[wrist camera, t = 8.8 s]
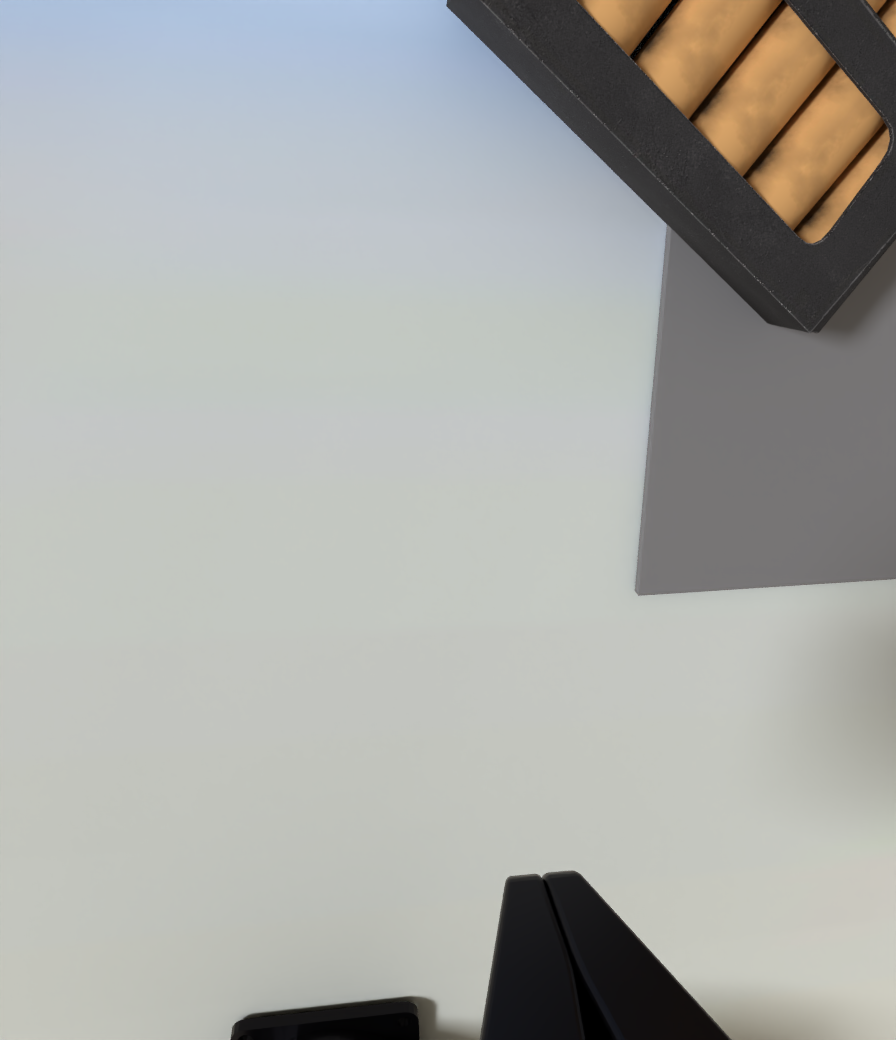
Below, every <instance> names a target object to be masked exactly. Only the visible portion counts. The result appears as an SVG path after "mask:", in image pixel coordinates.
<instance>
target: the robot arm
mask: <svg viewBox="0 0 896 1040" xmlns="http://www.w3.org/2000/svg"><path fill="white" fill-rule="evenodd" d="M231 1040H419V1020H418V1009H417V1006H416V1005H415V1004H414V1003H411V1002H395V1003H386V1004H377V1005H368V1006H359V1007H350V1008H341V1009H332V1010H323V1011H314V1012H305V1013H297V1014H288V1015H279V1016H270V1017H261V1018H252V1019H244V1020H240V1021H238V1022H236V1023H235V1024H234V1026H233V1027H232V1034H231ZM480 1040H731V1039H730V1038H729V1037H728V1036H727V1034H726V1033H725V1032H724V1031H723V1030H722V1029H721V1028H720V1027H719V1026H718V1025H717V1023H716V1022H715V1021H714V1020H713V1019H712V1018H711V1017H710V1016H709V1015H708V1014H707V1012H706V1011H705V1010H704V1009H703V1008H702V1007H701V1006H700V1005H699V1004H698V1003H697V1002H696V1000H695V999H694V998H693V997H692V996H691V995H690V994H689V993H688V992H687V991H686V989H685V988H684V987H683V986H682V985H681V984H680V983H679V982H678V981H677V980H676V978H675V977H674V976H673V975H672V974H671V973H670V972H669V971H668V970H667V969H666V967H665V966H664V965H663V964H662V963H661V962H660V961H659V960H658V959H657V958H656V957H655V955H654V954H653V953H652V952H651V951H650V950H649V949H648V948H647V947H646V946H645V944H644V943H643V942H642V941H641V940H640V939H639V938H638V937H637V936H636V935H635V933H634V932H633V931H632V930H631V929H630V928H629V927H628V926H627V925H626V924H625V923H624V921H623V920H622V919H621V918H620V917H619V916H618V915H617V914H616V913H615V912H614V910H613V909H612V908H611V907H610V906H609V905H608V904H607V903H606V902H605V901H604V899H603V898H602V897H601V896H600V895H599V894H598V893H597V892H596V891H595V890H594V888H593V887H592V886H591V885H590V884H589V883H588V882H587V881H586V880H585V879H584V878H583V876H582V875H581V874H579V873H578V872H576V871H561V872H550V873H546V874H544V875H543V877H542V878H541V877H540V876H539V875H538V874H529V875H518V876H510V877H508V878H507V880H506V882H505V887H504V893H503V900H502V906H501V912H500V918H499V924H498V930H497V937H496V943H495V949H494V955H493V961H492V967H491V974H490V980H489V986H488V992H487V998H486V1004H485V1011H484V1017H483V1023H482V1029H481V1035H480Z"/></svg>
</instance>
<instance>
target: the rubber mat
mask: <svg viewBox="0 0 896 1040" xmlns="http://www.w3.org/2000/svg"><path fill="white" fill-rule="evenodd" d="M754 38H755V37H753V38H752V39H751V41H752V40H753V39H754ZM751 41H750V42H749V43H748V45H749V44H750V43H751ZM748 45H747V46H748ZM747 46H746V47H745V48H744V50H745V49H746V48H747ZM744 50H743V51H744ZM743 51H742V52H741V53H740V55H741V54H742V53H743ZM740 55H739V56H740ZM739 56H738V57H737V58H736V60H737V59H738V58H739ZM736 60H735V61H736ZM735 61H734V62H733V64H734V63H735ZM733 64H732V65H733ZM732 65H731V66H732ZM731 66H730V67H729V69H730V68H731ZM729 69H728V70H729ZM728 70H727V71H728ZM727 71H726V72H727ZM726 72H725V74H726ZM725 74H724V75H725ZM724 75H723V76H724ZM723 76H722V77H723ZM722 77H721V79H722ZM721 79H720V80H721ZM720 80H719V81H720ZM719 81H718V82H719ZM717 84H718V83H717ZM717 84H716V85H717ZM716 85H715V86H716ZM715 86H714V87H715ZM713 89H714V88H713ZM713 89H712V90H713ZM712 90H711V91H712ZM711 91H710V92H711ZM709 94H710V93H709ZM709 94H708V95H709ZM708 95H707V96H708ZM707 96H706V97H707ZM705 99H706V98H705ZM705 99H704V100H705ZM704 100H703V101H704ZM701 104H702V103H701ZM701 104H700V105H701ZM700 105H699V106H700ZM696 110H697V109H696ZM696 110H695V111H696ZM692 115H693V114H692ZM692 115H691V116H692ZM688 120H689V119H688ZM887 579H896V240H895V241H894V242H893V243H892V245H891V246H890V247H889V248H888V249H887V251H886V252H885V253H884V254H883V255H882V257H881V258H880V259H879V260H878V262H877V263H876V264H875V265H874V266H873V268H872V269H871V270H870V271H869V272H868V274H867V275H866V276H865V277H864V279H863V280H862V281H861V282H860V283H859V285H858V286H857V287H856V288H855V289H854V291H853V292H852V293H851V294H850V296H849V297H848V298H847V299H846V300H845V302H844V303H843V304H842V305H841V306H840V308H839V309H838V310H837V311H836V313H835V314H834V315H833V316H832V317H831V319H830V320H829V321H828V322H827V323H826V325H825V326H824V327H823V328H822V330H821V331H820V332H819V333H807V332H802V331H798V330H793V329H789V328H784V327H780V326H775V325H771V324H767V323H766V322H765V321H764V320H763V319H762V318H761V317H760V316H759V315H758V314H757V313H756V312H755V311H754V310H753V309H752V308H751V307H750V306H749V305H748V304H747V303H746V302H745V301H744V300H743V299H742V298H741V297H740V296H739V295H738V294H737V293H736V292H735V291H734V290H733V289H732V288H731V287H730V286H729V285H728V284H727V283H726V282H725V281H724V280H723V279H722V278H721V277H720V276H719V275H718V274H717V273H716V272H715V271H714V270H713V269H712V268H711V267H710V266H709V265H708V264H707V263H706V262H705V261H704V260H703V259H702V258H701V257H700V256H699V255H698V254H697V253H696V252H695V251H694V250H693V249H692V248H691V247H690V246H689V245H688V244H687V243H686V242H685V241H684V240H683V239H682V238H681V237H679V236H678V235H677V234H676V233H675V232H674V231H673V230H672V229H671V228H670V227H669V226H668V225H667V232H666V243H665V255H664V266H663V277H662V289H661V300H660V312H659V323H658V334H657V346H656V357H655V368H654V380H653V391H652V403H651V414H650V425H649V437H648V448H647V460H646V471H645V482H644V494H643V505H642V517H641V528H640V539H639V551H638V562H637V573H636V585H635V591H636V593H637V594H638V596H640V595H655V594H670V593H686V592H701V591H717V590H732V589H748V588H763V587H779V586H794V585H810V584H825V583H841V582H856V581H872V580H887Z"/></svg>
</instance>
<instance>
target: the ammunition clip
mask: <svg viewBox="0 0 896 1040" xmlns="http://www.w3.org/2000/svg"><path fill="white" fill-rule="evenodd" d="M671 1H672V0H447V7H448V8H449V9H450V10H451V11H452V12H453V13H454V14H455V15H456V16H457V17H458V18H459V19H460V20H461V21H462V22H463V23H464V24H465V25H466V26H467V27H468V28H469V29H470V30H471V31H472V32H473V33H474V34H475V35H476V36H477V37H478V38H479V39H480V40H481V41H482V42H483V43H484V44H485V45H486V46H487V47H488V48H489V49H490V50H491V51H492V52H493V53H494V54H495V55H496V56H497V57H498V58H499V59H500V60H501V61H503V62H504V63H505V64H506V65H507V66H508V67H509V68H510V69H511V70H512V71H513V72H514V73H515V74H516V75H517V76H518V77H519V78H520V79H521V80H522V81H523V82H524V83H525V84H526V85H527V86H528V87H529V88H530V89H531V90H532V91H533V92H534V93H535V94H536V95H537V96H538V97H539V98H540V99H541V100H542V101H543V102H544V103H545V104H546V105H547V106H548V107H549V108H550V109H551V110H552V111H553V112H554V113H555V114H556V115H557V116H558V117H559V118H560V119H561V120H562V121H563V122H564V123H565V124H566V125H567V126H568V127H569V128H570V129H571V130H572V131H573V132H574V133H575V134H576V135H577V136H578V137H579V138H580V139H581V140H582V141H583V142H584V143H585V144H586V145H587V146H588V147H589V148H590V149H592V150H593V151H594V152H595V153H596V154H597V155H598V156H599V157H600V158H601V159H602V160H603V161H604V162H605V163H606V164H607V165H608V166H609V167H610V168H611V169H612V170H613V171H614V172H615V173H616V174H617V175H618V176H619V177H620V178H621V179H622V180H623V181H624V182H625V183H626V184H627V185H628V186H629V187H630V188H631V189H632V190H633V191H634V192H635V193H636V194H637V195H638V196H639V197H640V198H641V199H642V200H643V201H644V202H645V203H646V204H647V205H648V206H649V207H650V208H651V209H652V210H653V211H654V212H655V213H656V214H657V215H658V216H659V217H660V218H661V219H662V220H663V221H664V222H665V223H666V224H667V225H668V226H669V227H670V228H671V229H672V230H673V231H674V232H675V233H676V234H677V235H678V236H679V237H681V238H682V239H683V240H684V241H685V242H686V243H687V244H688V245H689V246H690V247H691V248H692V249H693V250H694V251H695V252H696V253H697V254H698V255H699V256H700V257H701V258H702V259H703V260H704V261H705V262H706V263H707V264H708V265H709V266H710V267H711V268H712V269H713V270H714V271H715V272H716V273H717V274H718V275H719V276H720V277H721V278H722V279H723V280H724V281H725V282H726V283H727V284H728V285H729V286H730V287H731V288H732V289H733V290H734V291H735V292H736V293H737V294H738V295H739V296H740V297H741V298H742V299H743V300H744V301H745V302H746V303H747V304H748V305H749V306H750V307H751V308H752V309H753V310H754V311H755V312H756V313H757V314H758V315H759V316H760V317H761V318H762V319H763V320H764V321H765V322H766V323H767V324H771V325H775V326H780V327H784V328H789V329H793V330H798V331H802V332H807V333H819V332H820V331H821V330H822V328H823V327H824V326H825V325H826V323H827V322H828V321H829V320H830V319H831V317H832V316H833V315H834V314H835V313H836V311H837V310H838V309H839V308H840V306H841V305H842V304H843V303H844V302H845V300H846V299H847V298H848V297H849V296H850V294H851V293H852V292H853V291H854V289H855V288H856V287H857V286H858V285H859V283H860V282H861V281H862V280H863V279H864V277H865V276H866V275H867V274H868V272H869V271H870V270H871V269H872V268H873V266H874V265H875V264H876V263H877V262H878V260H879V259H880V258H881V257H882V255H883V254H884V253H885V252H886V251H887V249H888V248H889V247H890V246H891V245H892V243H893V242H894V241H895V240H896V0H679V1H678V2H677V3H676V5H675V6H674V7H673V8H672V10H671V11H670V12H669V14H668V15H667V16H666V17H665V19H664V20H663V21H662V23H661V24H660V25H659V26H658V28H657V29H656V30H655V32H654V33H653V34H652V35H651V37H650V38H649V39H648V41H647V42H646V43H645V44H644V46H643V47H642V48H641V50H640V51H639V52H638V53H637V55H636V56H635V57H634V59H633V60H632V59H631V58H630V57H629V56H630V55H631V54H632V52H633V51H634V50H635V48H636V47H637V46H638V45H639V43H640V42H641V41H642V39H643V38H644V37H645V35H646V34H647V33H648V31H649V30H650V29H651V27H652V26H653V25H654V23H655V22H656V21H657V19H658V18H659V17H660V16H661V14H662V13H663V12H664V10H665V9H666V8H667V6H668V5H669V4H670V2H671ZM753 37H755V38H754V39H753V40H752V41H751V39H752V38H753ZM750 41H751V43H750V44H749V45H748V43H749V42H750ZM747 45H748V46H747ZM746 46H747V48H746V49H745V50H744V48H745V47H746ZM743 50H744V51H743ZM742 51H743V53H742V54H741V55H740V53H741V52H742ZM739 55H740V56H739ZM738 56H739V58H738V59H737V60H736V58H737V57H738ZM735 60H736V61H735ZM734 61H735V63H734V64H733V62H734ZM732 64H733V65H732ZM731 65H732V66H731ZM730 66H731V68H730V69H729V67H730ZM728 69H729V70H728ZM727 70H728V71H727ZM726 71H727V72H726ZM725 72H726V74H725ZM724 74H725V75H724ZM723 75H724V76H723ZM722 76H723V77H722ZM721 77H722V79H721ZM720 79H721V80H720ZM719 80H720V81H719ZM718 81H719V82H718ZM717 83H718V84H717ZM716 84H717V85H716ZM715 85H716V86H715ZM714 86H715V87H714ZM713 88H714V89H713ZM712 89H713V90H712ZM711 90H712V91H711ZM710 91H711V92H710ZM709 93H710V94H709ZM708 94H709V95H708ZM707 95H708V96H707ZM706 96H707V97H706ZM705 98H706V99H705ZM704 99H705V100H704ZM703 100H704V101H703ZM701 103H702V104H701ZM700 104H701V105H700ZM699 105H700V106H699ZM696 109H697V110H696ZM695 110H696V111H695ZM692 114H693V115H692ZM691 115H692V116H691ZM688 119H689V120H688Z"/></svg>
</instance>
